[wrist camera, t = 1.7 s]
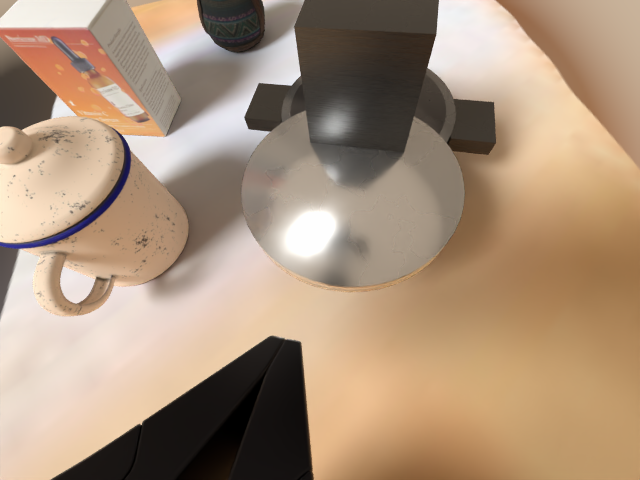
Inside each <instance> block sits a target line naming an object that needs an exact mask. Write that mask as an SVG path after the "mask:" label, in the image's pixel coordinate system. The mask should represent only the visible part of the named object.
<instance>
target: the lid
mask: <svg viewBox="0 0 640 480" xmlns="http://www.w3.org/2000/svg"><path fill="white" fill-rule="evenodd" d="M438 4H439V0H305V1H304V4H303V6H302V9H301V11H300V14H299V16H298V19H297V21H296V24H295V26H294V28H295V35H296V42H297V50H298V57H299V64H300V72H301V79H302V86H303V94H304V101H305V108H306V111H303V112H301V113H299V114H297V115H294V116H292V117H291V118H289V119H287V120H286V121H284V122H282V123H281V124H280V125H278V126H277V127H276V128H274V129H273V130H272V131H271V132H270V133H269V134H268V135H267V136H266V137H265V138H264V139H263V140H262V141H261V143H260V144H259V145H258V146H257V148H256V149H255V151H254V152H253V154H252V155H251V157H250V160H249V162H248V164H247V166H246V169H245V172H244V176H243V181H242V188H241V201H242V207H243V213H244V216H245V219H246V222H247V225H248V227H249V228H250V230H251V232H252V234H253V236H254V238H255V239H256V241H257V243H258V244H259V246H260V247H261V248H262V250H263V251H264V252H265V254H266V255H267V256H268V257H269V258H270V259H271V260H272V261H273V262H274V263H275V264H276V265H277V266H278V267H279V268H281V269H282V270H283V271H285V272H286V273H287V274H289V275H291V276H293V277H294V278H296V279H298V280H300V281H302V282H305V283H307V284H310V285H312V286H315V287H319V288H323V289H327V290H332V291H341V292H364V291H371V290H378V289H381V288H385V287H389V286H392V285H395V284H397V283H399V282H402V281H404V280H406V279H408V278H410V277H412V276H413V275H415V274H417V273H418V272H420V271H421V270H422V269H423V268H425V267H426V266H427V265H428V264H430V263H431V262H432V261H433V260H434V259H435V257H436V256H437V255H438V254H439V253H440V252H441V251H442V249H443V248H444V247H445V245H446V244H447V243H448V241H449V240H450V238H451V237H452V235H453V234H454V232H455V230H456V228H457V226H458V223H459V221H460V219H461V215H462V211H463V207H464V198H465V189H464V180H463V176H462V171H461V168H460V166H459V163H458V161H457V158H456V157H455V155H454V153H453V152H452V150H451V148H450V147H449V146H448V144H447V143H446V142H445V141H444V139H443V138H442V137H441V136H440V135H439V134H438V133H437V132H436V131H435V130H434V129H432V128H431V127H430V126H428V125H427V124H426V123H424V122H423V121H421V120H419V119H418V118H416V117H414V115H415V111H416V107H417V104H418V100H419V96H420V92H421V89H422V85H423V81H424V78H425V74H426V70H427V67H428V63H429V59H430V56H431V52H432V48H433V44H434V41H435V37H436V32H437V18H438Z"/></svg>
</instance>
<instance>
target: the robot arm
mask: <svg viewBox="0 0 640 480" xmlns="http://www.w3.org/2000/svg"><path fill="white" fill-rule="evenodd" d="M312 469H313V467H312V456H311V445H310V434H309V423H308V412H307V401H306V390H305V379H304V368H303V356H302V345H301V342H300V341H296V340H291V339H285V338H282V337H277V336H269V337H268V338H266V339H265V340H263V341H262V342H260V343H259V344H257V345H256V346H254V347H253V348H251V349H250V350H248V351H247V352H245V353H244V354H243V355H241V356H240V357H238V358H237V359H235V360H234V361H232V362H231V363H229V364H228V365H226V366H225V367H223V368H222V369H220V370H219V371H217V372H216V373H214V374H213V375H211V376H210V377H208V378H207V379H205V380H204V381H202V382H201V383H199V384H198V385H196V386H195V387H193V388H192V389H190V390H189V391H187V392H186V393H184V394H183V395H181V396H180V397H178V398H177V399H175V400H174V401H172V402H171V403H169V404H168V405H166V406H165V407H164V408H162V409H161V410H159V411H158V412H156V413H155V414H153V415H152V416H150V417H149V418H147V419H146V420H144V421H143V423H142V425H141V424H138V425H136V426H135V427H133V428H132V429H130V430H129V431H127V432H126V433H125V434H123V435H122V436H120V437H119V438H117V439H115V440H114V441H112V442H111V443H109V444H108V445H106V446H105V447H103V448H101V449H100V450H98V451H97V452H95V453H94V454H92V455H91V456H89V457H87V458H86V459H84V460H83V461H81V462H79V463H78V464H76V465H74V466H73V467H71V468H69V469H68V470H66V471H64V472H63V473H61V474H59V475H57V476H56V477H54V478H52V479H51V480H314V476H313V472H312Z"/></svg>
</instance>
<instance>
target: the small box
mask: <svg viewBox="0 0 640 480" xmlns="http://www.w3.org/2000/svg"><path fill="white" fill-rule="evenodd" d="M0 37H1V38H2V39H3V40H4V41H5V42H6V43H7V44H8V45H9V46H10V47H11V48H12V49H13V50H14V51H15V53H16V54H17V55H18V56H19V57H20V58H21V59H22V60H23V61H24V62H25V63H26V64H27V65H28V66H29V67H30V68H31V69H32V70H33V71H34V72H35V73H36V74H37V75H38V76H39V77H40V78H41V79H42V80H43V81H44V82H45V83H46V84H47V85H48V86H49V87H50V88H51V89H52V90H53V91H54V92H55V93H56V95H57V96H59V98H60V99H61V100H62V101H63V102H64V103H65V104H66V105H67V106H68V107H69V108H70V109H71V110H72V111H73V112H74V113H75V114H76V115H77V116H78V117H87V118H91V119H95V120H98V121H100V122H103V123H105V124H107V125H108V126H110V127H112V128H114V129H115V130H117V131H118V132H119V133H120V134H123V135H143V136H157V137H165V136H166V134H167V132H168V130H169V127H170V125H171V122H172V120H173V118H174V116H175V113H176V111H177V109H178V106H179V104H180V102H181V97H180V96H179V94H178V92H177V90H176V89H175V87H174V85H173V83H172V82H171V80H170V78H169V76H168V74H167V72H166V71H165V69H164V67H163V65H162V63H161V62H160V60H159V58H158V56H157V54H156V53H155V51H154V49H153V47H152V45H151V44H150V42H149V40H148V38H147V36H146V35H145V33H144V31H143V29H142V28H141V26H140V24H139V22H138V20H137V19H136V17H135V15H134V13H133V11H132V10H131V8H130V6H129V4H128V3H127V1H126V0H18V1H17V2H16V3H15V4H14V5H13V6H12V7H11V8H10V9H9V10H8V11H7V12H6V13H5V14H4V15H3V16H2V17H1V18H0Z"/></svg>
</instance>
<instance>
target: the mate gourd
mask: <svg viewBox="0 0 640 480" xmlns="http://www.w3.org/2000/svg"><path fill="white" fill-rule="evenodd" d="M197 5H198V11H199V17H200V20H201V23H202V26H203V28H204V30H205V32H206V33H208V34H209V35H210V36H211V38H212V39H213V41H214V43H216V44H217V45H219V46H220V47H222V48H224V49H226V50H229V51H233V52H240V51H245V50H248V49H250V48H251V47H253V46H254V45H255V44H257V43H259V41H261V38H262V37H263V35H264V31H265V30H264V25H265V19H264V17H265V15H264V6H263V2H262V0H197Z"/></svg>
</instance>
